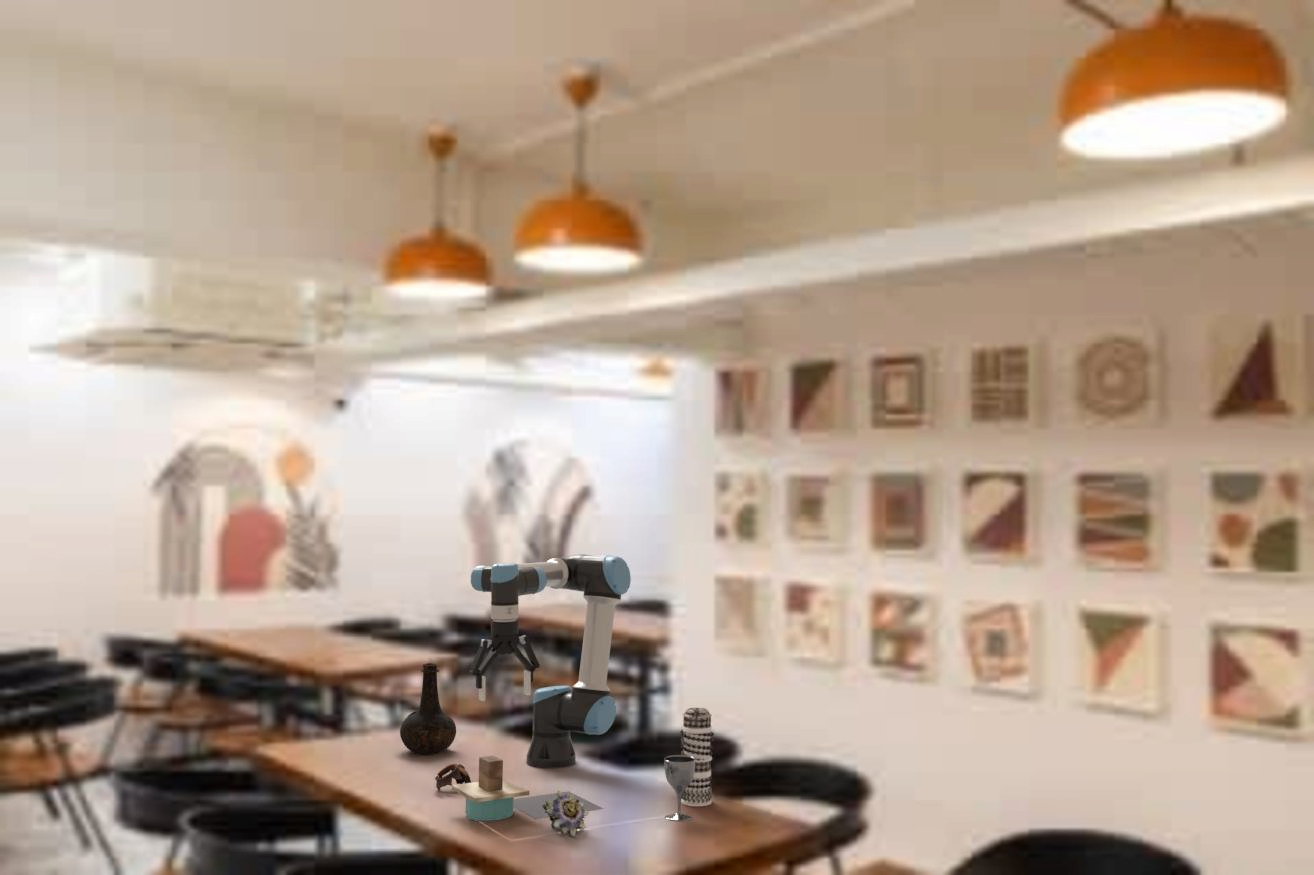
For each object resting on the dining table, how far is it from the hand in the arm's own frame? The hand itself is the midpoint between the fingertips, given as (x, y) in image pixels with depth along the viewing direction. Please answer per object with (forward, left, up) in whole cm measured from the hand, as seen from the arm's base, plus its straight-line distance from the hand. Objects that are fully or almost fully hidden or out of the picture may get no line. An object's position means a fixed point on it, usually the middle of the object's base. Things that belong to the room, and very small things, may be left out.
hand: (504, 697), depth 316 cm
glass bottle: (-2, -62, -27) cm, 68 cm away
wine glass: (-32, +40, -27) cm, 58 cm away
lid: (+10, +15, -21) cm, 28 cm away
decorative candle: (-44, +30, -27) cm, 59 cm away
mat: (-8, +15, -27) cm, 32 cm away
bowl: (+10, +15, -27) cm, 32 cm away
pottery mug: (+8, -14, -27) cm, 32 cm away
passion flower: (0, +36, -27) cm, 46 cm away
